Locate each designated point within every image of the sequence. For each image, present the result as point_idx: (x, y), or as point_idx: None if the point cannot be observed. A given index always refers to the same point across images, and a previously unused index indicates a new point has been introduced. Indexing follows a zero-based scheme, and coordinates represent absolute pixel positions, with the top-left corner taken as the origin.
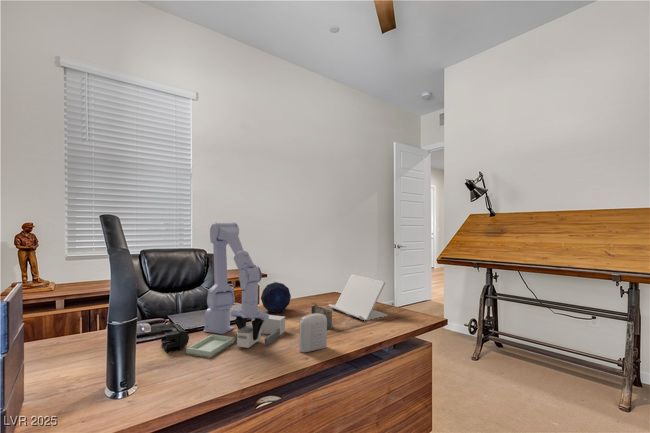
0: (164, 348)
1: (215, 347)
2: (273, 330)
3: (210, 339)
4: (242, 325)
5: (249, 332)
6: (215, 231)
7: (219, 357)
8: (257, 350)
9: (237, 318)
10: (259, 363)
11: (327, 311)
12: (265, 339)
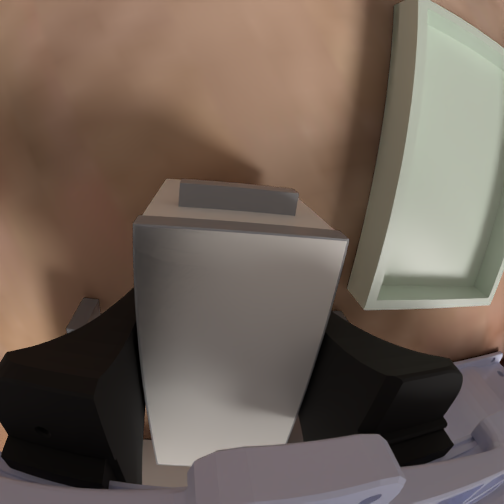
0: None
1: (435, 157)
2: (152, 459)
3: (481, 270)
4: (324, 382)
5: (135, 239)
6: None
7: (341, 10)
8: (99, 198)
9: (429, 429)
10: (14, 9)
11: None
12: (79, 326)
